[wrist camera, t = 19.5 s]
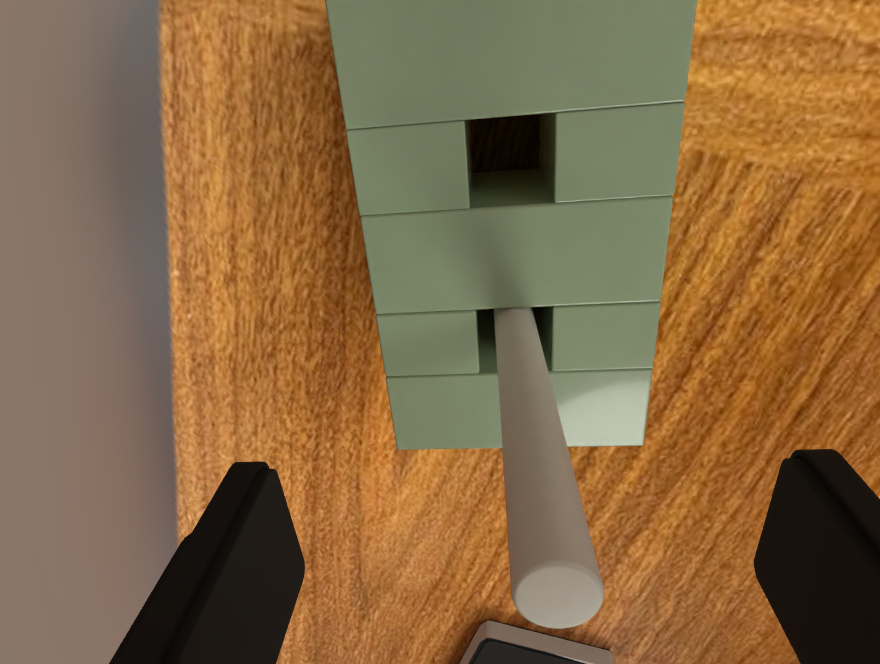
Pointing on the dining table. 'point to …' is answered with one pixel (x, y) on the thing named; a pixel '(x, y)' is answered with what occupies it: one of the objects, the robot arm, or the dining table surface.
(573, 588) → the grey cylindrical rod
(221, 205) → the dining table surface
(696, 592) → the dining table surface
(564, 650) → the smartphone
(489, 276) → the pen holder
